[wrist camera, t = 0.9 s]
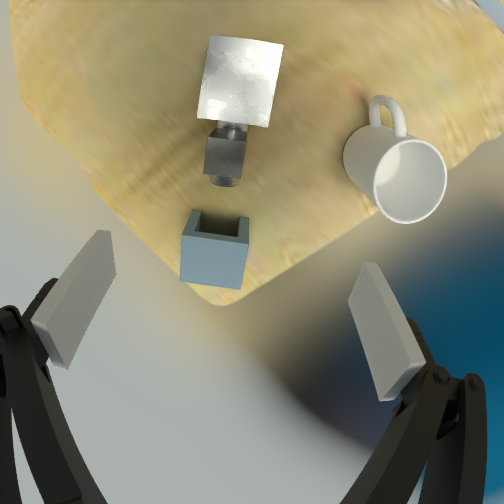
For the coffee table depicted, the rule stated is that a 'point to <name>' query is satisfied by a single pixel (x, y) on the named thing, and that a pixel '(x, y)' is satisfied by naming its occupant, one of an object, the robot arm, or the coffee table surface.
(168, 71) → the coffee table surface
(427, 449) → the robot arm
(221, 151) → the grey piece
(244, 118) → the grey metal block
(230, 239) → the socket
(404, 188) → the cup
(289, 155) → the coffee table surface
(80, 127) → the coffee table surface
